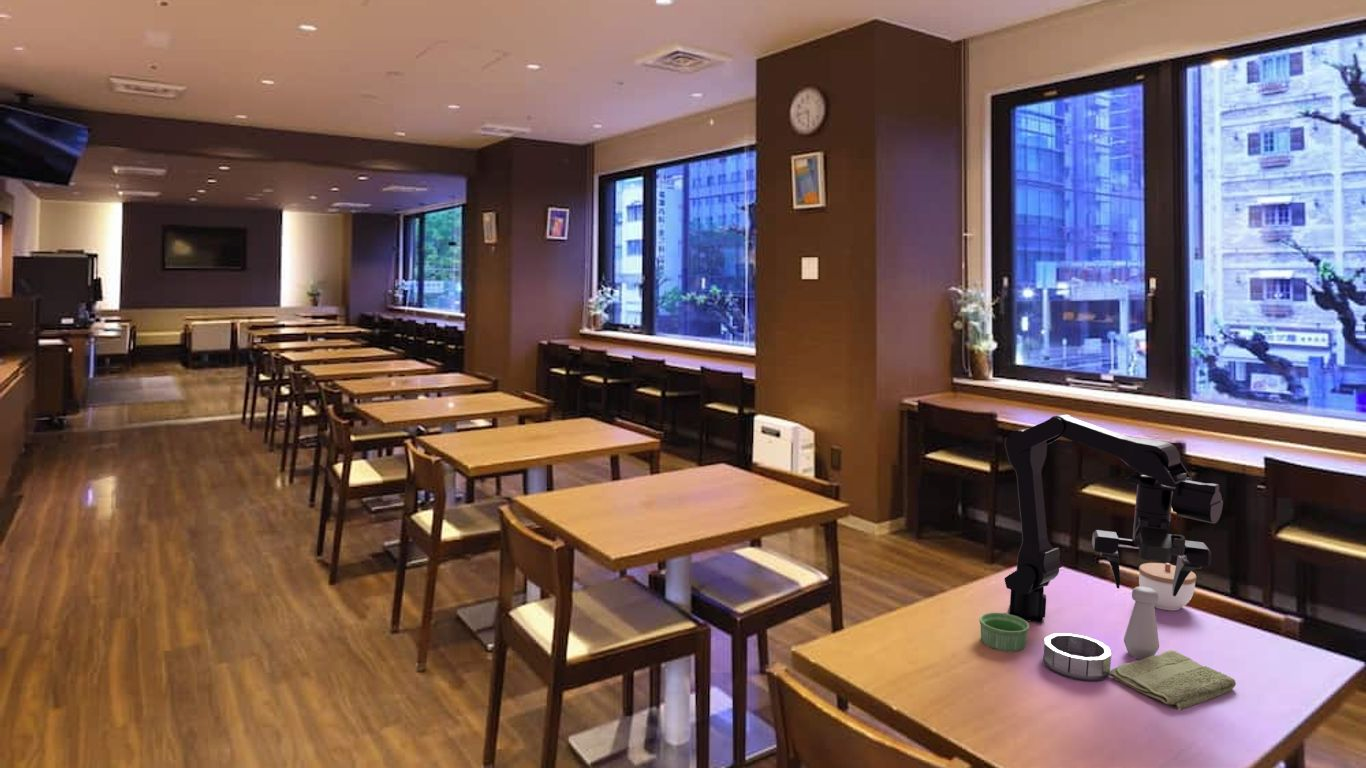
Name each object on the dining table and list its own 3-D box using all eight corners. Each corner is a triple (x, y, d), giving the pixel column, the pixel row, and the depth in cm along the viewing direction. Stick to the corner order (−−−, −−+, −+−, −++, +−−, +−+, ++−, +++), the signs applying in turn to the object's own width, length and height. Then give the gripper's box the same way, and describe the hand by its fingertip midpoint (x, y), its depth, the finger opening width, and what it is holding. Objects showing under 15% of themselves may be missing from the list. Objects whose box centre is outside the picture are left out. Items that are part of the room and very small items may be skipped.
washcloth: (1103, 679, 144) (1104, 662, 144) (1170, 662, 151) (1171, 645, 151) (1173, 715, 133) (1175, 696, 132) (1242, 694, 140) (1244, 676, 139)
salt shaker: (1149, 649, 156) (1155, 583, 154) (1163, 662, 150) (1169, 595, 148) (1117, 647, 156) (1122, 582, 155) (1130, 661, 151) (1136, 593, 149)
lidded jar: (1129, 604, 178) (1132, 562, 177) (1146, 592, 185) (1149, 552, 184) (1184, 619, 170) (1188, 576, 169) (1199, 606, 177) (1203, 564, 176)
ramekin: (977, 648, 155) (978, 626, 155) (979, 630, 164) (980, 609, 163) (1028, 657, 152) (1029, 634, 151) (1027, 638, 160) (1029, 616, 160)
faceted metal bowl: (1043, 674, 145) (1044, 652, 145) (1042, 649, 155) (1043, 629, 155) (1112, 686, 141) (1114, 664, 140) (1106, 660, 151) (1108, 639, 150)
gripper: (1100, 515, 146) (1093, 598, 148) (1222, 528, 139) (1213, 616, 141) (1095, 500, 156) (1088, 578, 158) (1208, 512, 149) (1200, 593, 151)
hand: (1145, 591), depth 152 cm, fingers open, 9 cm apart
